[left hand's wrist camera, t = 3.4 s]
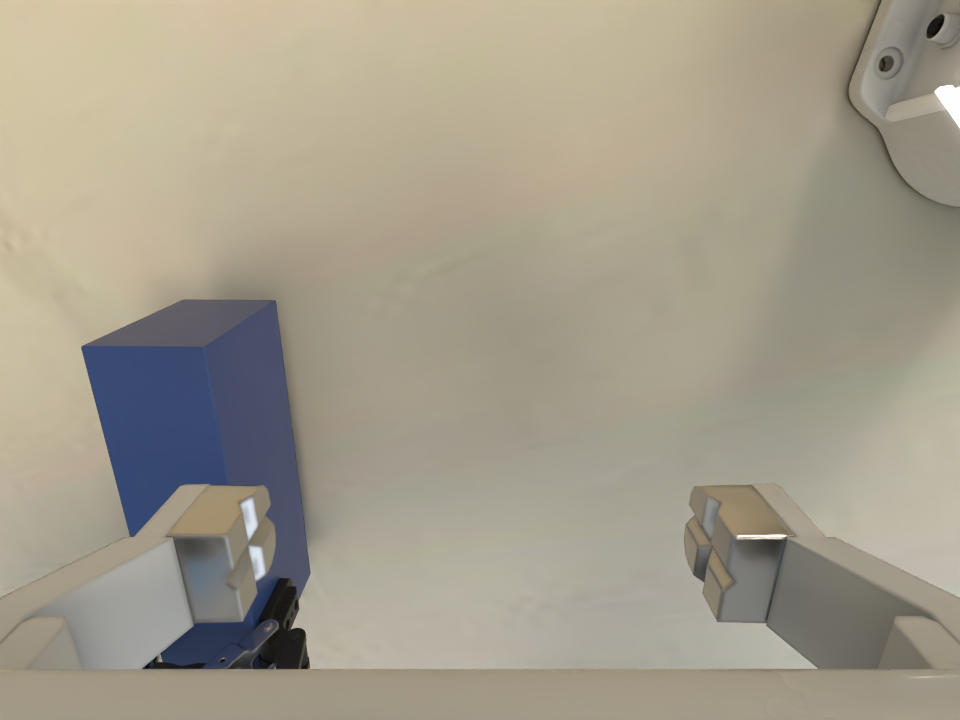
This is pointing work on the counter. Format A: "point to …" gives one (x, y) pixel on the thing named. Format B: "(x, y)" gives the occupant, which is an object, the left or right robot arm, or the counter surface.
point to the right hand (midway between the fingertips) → (238, 588)
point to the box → (202, 430)
